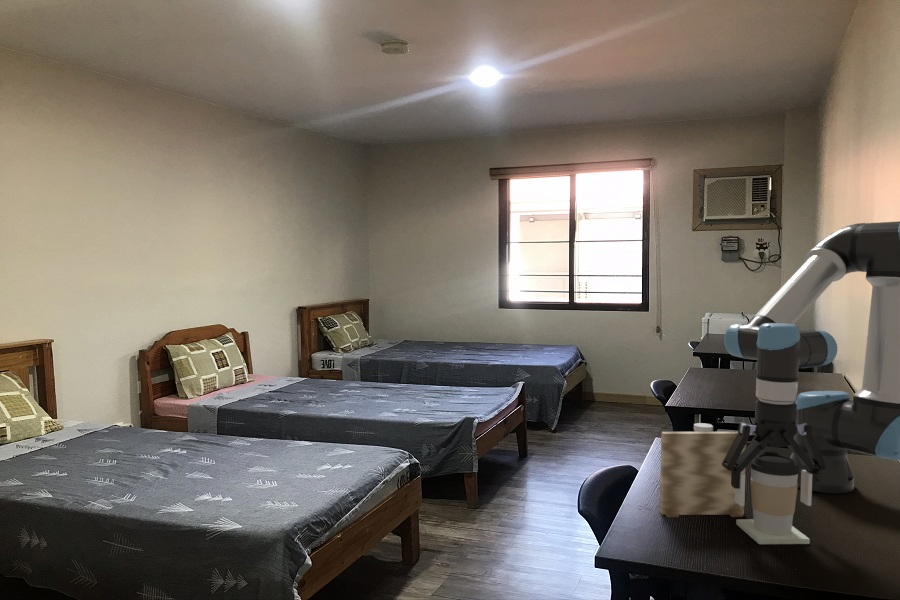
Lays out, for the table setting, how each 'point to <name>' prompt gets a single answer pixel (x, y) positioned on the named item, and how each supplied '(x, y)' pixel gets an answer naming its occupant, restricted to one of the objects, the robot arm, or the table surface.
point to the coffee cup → (773, 493)
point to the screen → (697, 474)
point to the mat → (763, 538)
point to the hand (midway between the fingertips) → (772, 503)
